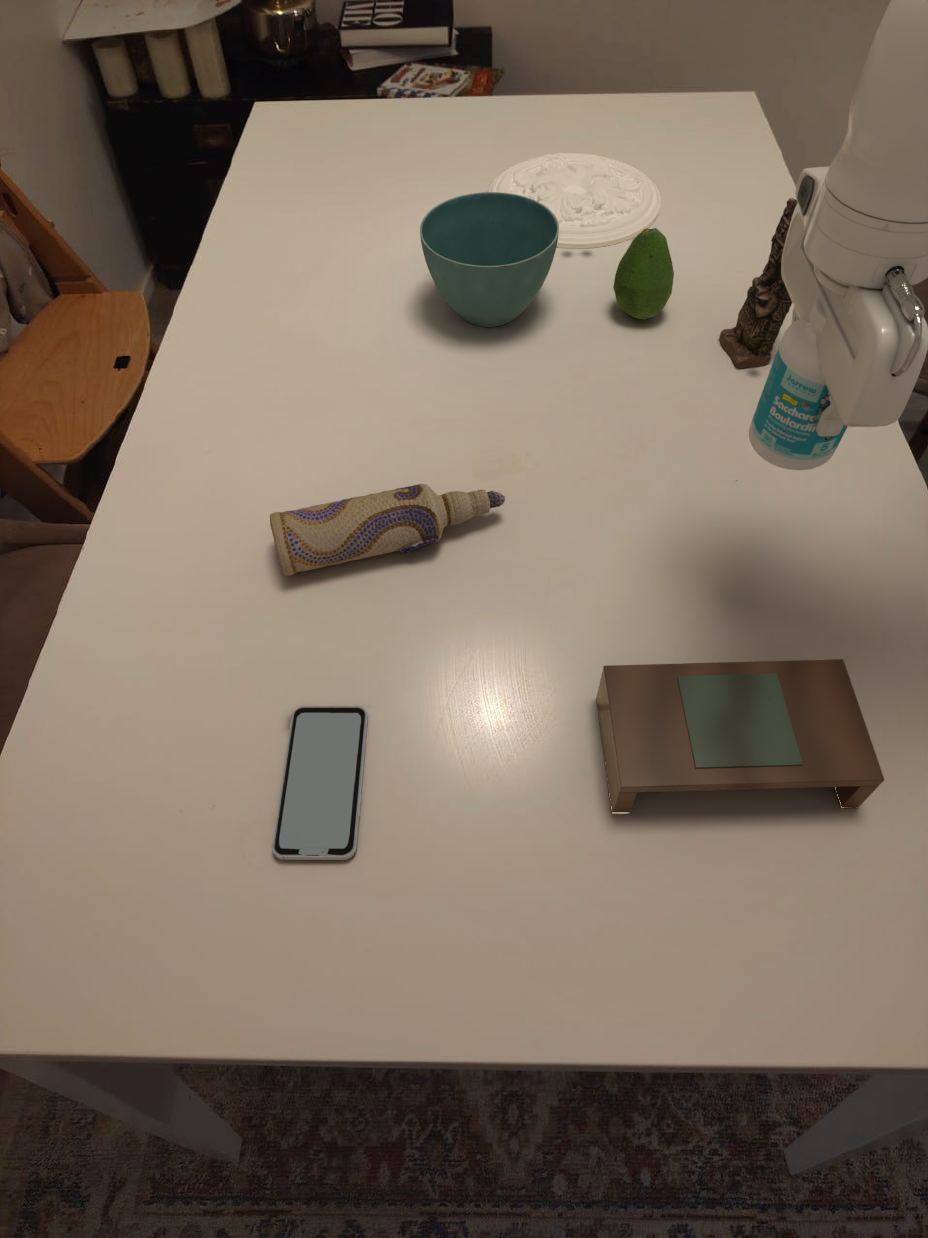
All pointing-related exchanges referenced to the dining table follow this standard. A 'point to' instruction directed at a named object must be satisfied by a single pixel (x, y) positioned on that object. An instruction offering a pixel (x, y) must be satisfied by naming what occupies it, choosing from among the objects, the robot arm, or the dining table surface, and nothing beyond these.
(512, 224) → the plant pot
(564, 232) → the ceiling medallion
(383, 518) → the decorative bottle
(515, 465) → the dining table surface
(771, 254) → the statue
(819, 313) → the pill bottle
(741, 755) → the shelf
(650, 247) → the avocado
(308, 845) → the smartphone
